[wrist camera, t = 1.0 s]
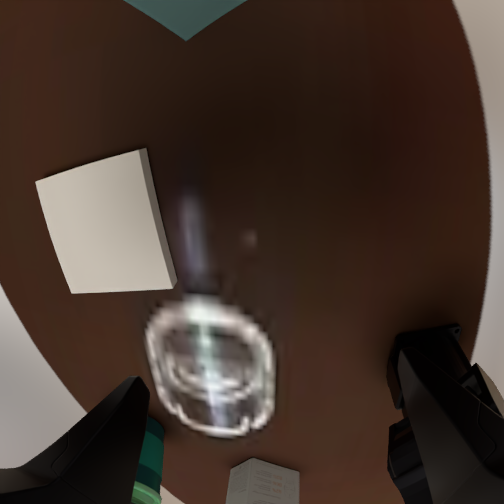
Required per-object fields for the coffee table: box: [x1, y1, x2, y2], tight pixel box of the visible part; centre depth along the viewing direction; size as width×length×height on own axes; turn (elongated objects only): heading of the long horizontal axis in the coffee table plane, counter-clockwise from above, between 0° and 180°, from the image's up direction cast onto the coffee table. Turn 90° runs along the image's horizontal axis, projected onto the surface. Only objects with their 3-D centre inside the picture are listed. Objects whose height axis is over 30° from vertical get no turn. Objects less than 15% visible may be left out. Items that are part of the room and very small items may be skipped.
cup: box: [131, 416, 164, 504], centre depth 27 cm, size 8×8×12 cm
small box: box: [226, 458, 299, 504], centre depth 30 cm, size 8×6×10 cm
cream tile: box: [36, 148, 178, 293], centre depth 21 cm, size 10×10×1 cm
